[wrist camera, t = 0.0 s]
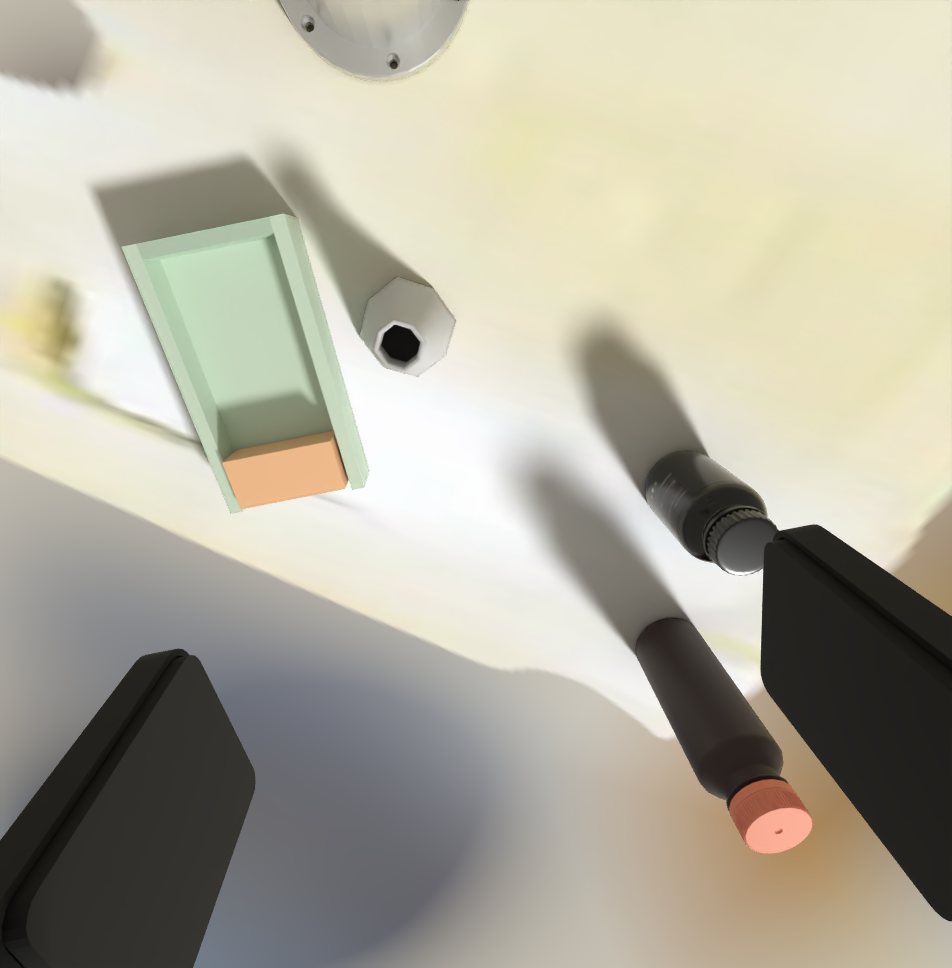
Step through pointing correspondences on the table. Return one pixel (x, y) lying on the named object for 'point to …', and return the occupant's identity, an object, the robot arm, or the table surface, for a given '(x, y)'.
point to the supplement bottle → (710, 511)
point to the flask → (407, 327)
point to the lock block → (286, 470)
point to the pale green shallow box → (247, 339)
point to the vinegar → (722, 736)
